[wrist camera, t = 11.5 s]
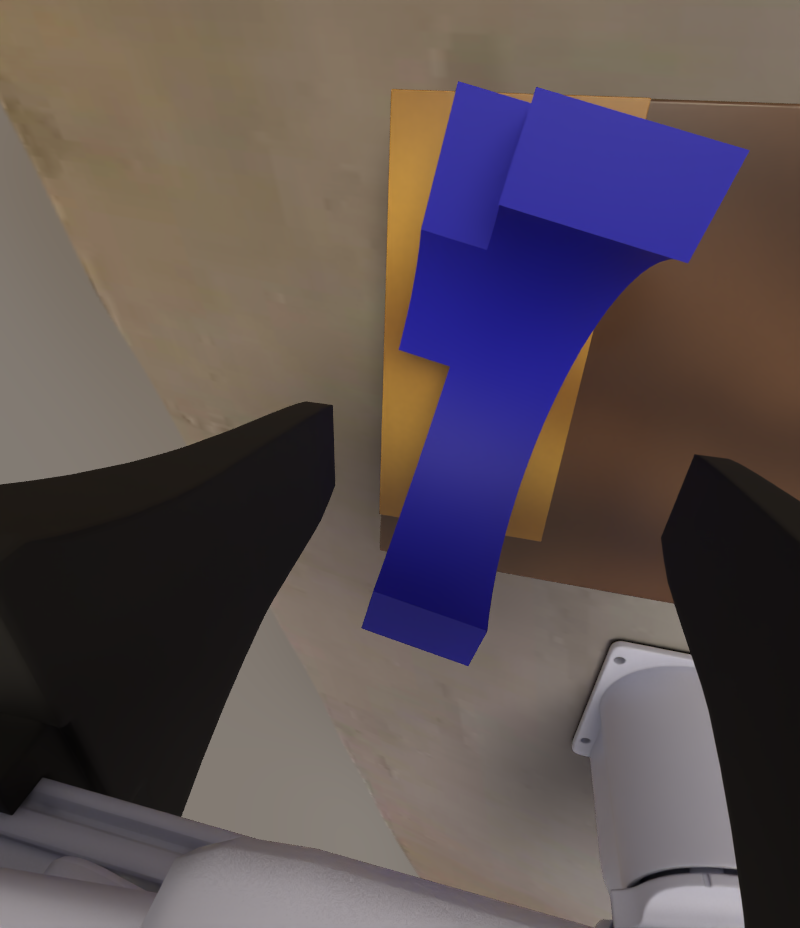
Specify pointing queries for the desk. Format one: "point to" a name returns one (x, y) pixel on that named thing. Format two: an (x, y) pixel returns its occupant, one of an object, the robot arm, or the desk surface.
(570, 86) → the desk surface
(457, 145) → the cable clip
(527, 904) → the desk surface
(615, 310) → the walnut stand
